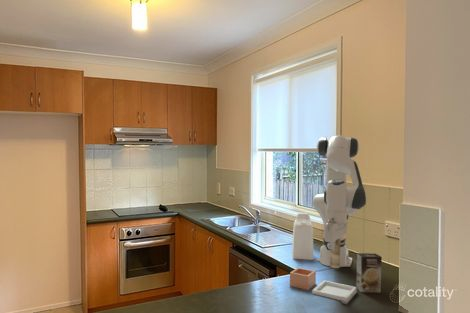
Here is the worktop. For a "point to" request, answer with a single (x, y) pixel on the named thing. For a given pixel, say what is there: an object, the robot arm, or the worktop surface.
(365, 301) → the worktop surface
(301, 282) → the orange open box
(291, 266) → the worktop surface
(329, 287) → the tray
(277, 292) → the worktop surface
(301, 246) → the milk
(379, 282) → the coffee box
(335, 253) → the pin
